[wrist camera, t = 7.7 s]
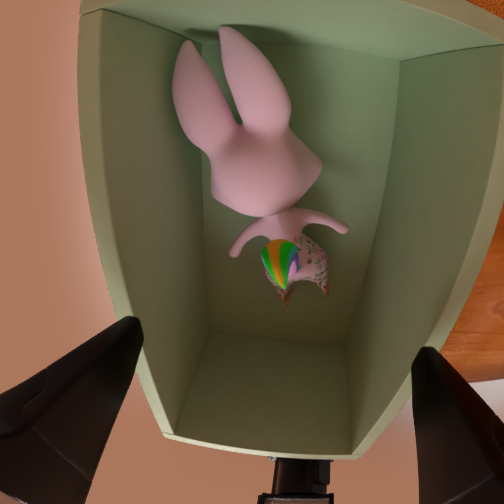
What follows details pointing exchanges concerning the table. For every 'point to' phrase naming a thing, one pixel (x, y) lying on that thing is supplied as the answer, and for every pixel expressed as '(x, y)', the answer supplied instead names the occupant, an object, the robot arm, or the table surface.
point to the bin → (316, 198)
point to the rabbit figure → (255, 157)
